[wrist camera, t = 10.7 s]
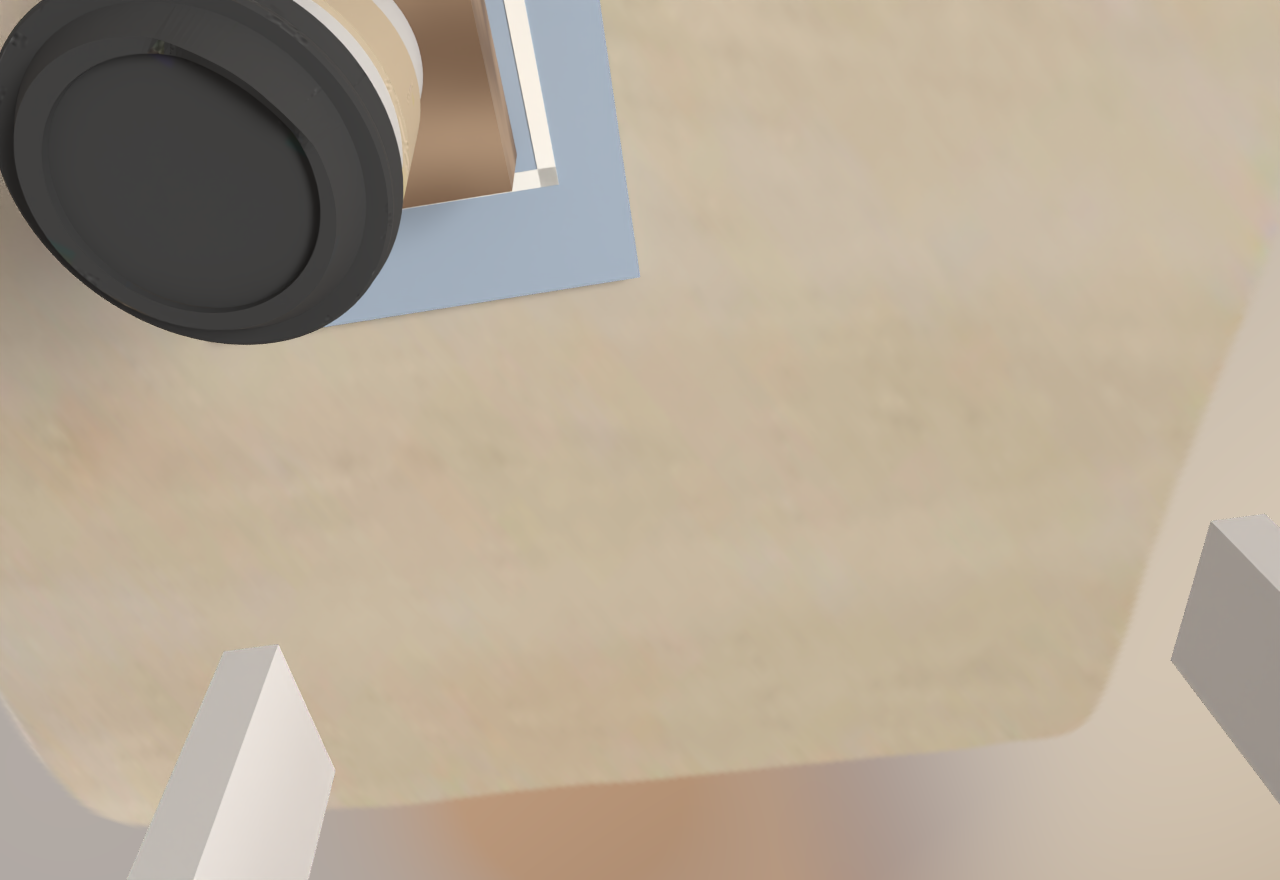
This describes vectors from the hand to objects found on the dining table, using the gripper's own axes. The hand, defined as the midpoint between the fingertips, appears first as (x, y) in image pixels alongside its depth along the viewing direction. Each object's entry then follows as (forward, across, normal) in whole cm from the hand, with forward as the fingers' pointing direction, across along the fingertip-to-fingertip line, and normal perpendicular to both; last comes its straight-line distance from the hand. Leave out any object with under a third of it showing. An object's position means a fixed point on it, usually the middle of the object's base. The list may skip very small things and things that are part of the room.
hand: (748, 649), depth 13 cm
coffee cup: (+26, -10, +5) cm, 28 cm away
